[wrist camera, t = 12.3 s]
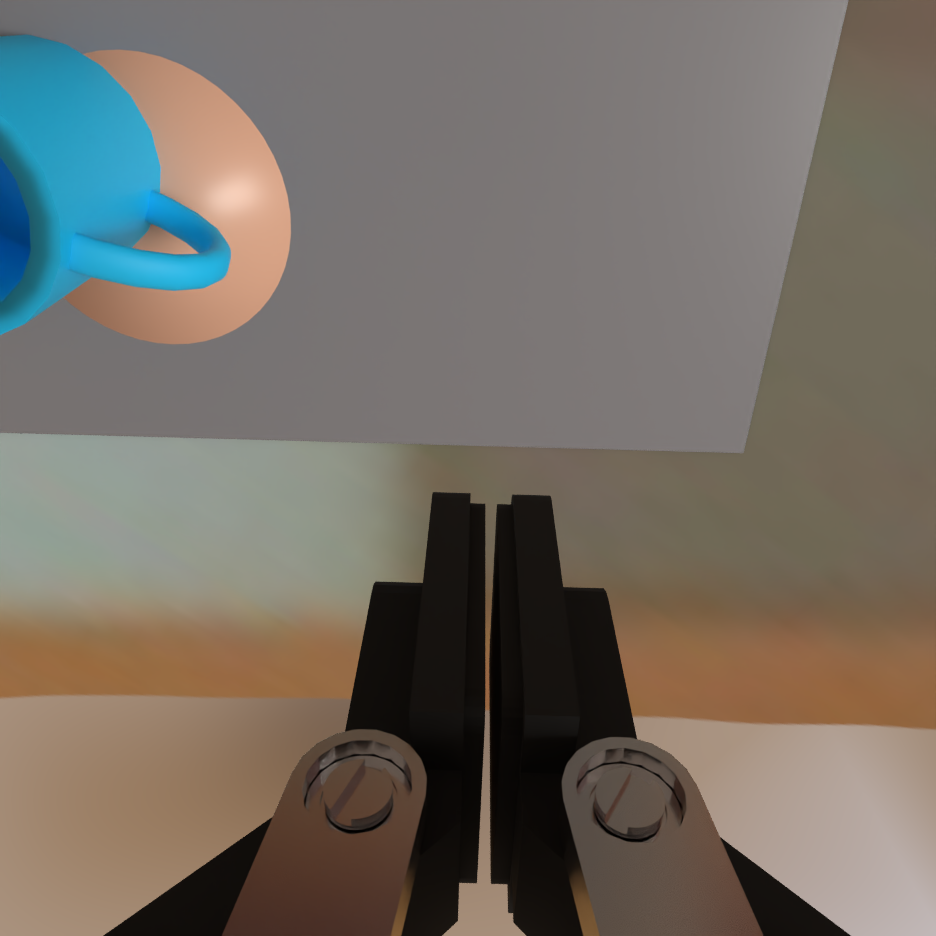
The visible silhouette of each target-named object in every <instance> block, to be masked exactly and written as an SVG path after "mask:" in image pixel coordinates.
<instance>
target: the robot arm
mask: <svg viewBox="0 0 936 936" xmlns="http://www.w3.org/2000/svg"><path fill="white" fill-rule="evenodd" d="M489 689H490V836H491V837H490V840H491V841H490V843H491V844H490V846H491V884H508V912H509V913H513V919H514V923H515V924H516V925H517V926H518V927H519V929H520V930H521V931H522V932H523V933H524V934H525V935H526V936H850V935H849V934H848V933H846V932H845V931H844V930H842V929H841V928H840V927H838V926H837V925H835V924H834V923H833V922H832V921H831V920H829V919H828V918H827V917H825V916H824V915H823V914H821V913H820V912H818V911H817V910H816V909H815V908H813V907H812V906H811V905H809V904H808V903H807V902H805V901H804V900H803V899H801V898H800V897H799V896H797V895H796V894H795V893H793V892H792V891H791V890H789V889H788V888H787V887H785V886H784V885H783V884H781V883H780V882H779V881H777V880H776V879H775V878H773V877H772V876H771V875H770V874H768V873H767V872H766V871H764V870H763V869H762V868H760V867H759V866H758V865H756V864H755V863H754V862H752V861H751V860H750V859H748V858H747V857H746V856H744V855H743V854H742V853H740V852H739V851H738V850H736V849H735V848H733V847H732V846H731V845H730V844H728V843H727V842H726V841H724V840H723V839H722V838H721V837H720V836H719V834H718V832H717V830H716V827H715V825H714V823H713V821H712V818H711V816H710V814H709V812H708V810H707V807H706V805H705V802H704V800H703V798H702V796H701V794H700V791H699V789H698V787H697V785H696V783H695V782H694V780H693V779H692V777H691V775H690V774H689V772H688V771H687V769H686V768H685V767H684V766H683V765H682V764H681V763H680V762H679V761H678V760H676V759H675V758H674V757H673V756H672V755H671V754H670V753H668V752H666V751H664V750H662V749H661V748H659V747H657V746H655V745H653V744H651V743H648V742H644V741H641V740H638V739H637V737H636V732H635V727H634V723H633V717H632V712H631V708H630V703H629V698H628V693H627V688H626V683H625V678H624V674H623V669H622V664H621V659H620V654H619V649H618V644H617V639H616V635H615V630H614V625H613V620H612V615H611V610H610V605H609V601H608V597H607V593H606V591H605V590H604V588H571V587H563V583H562V576H561V568H560V561H559V553H558V546H557V538H556V530H555V523H554V515H553V508H552V500H551V496H542V495H512V501H511V505H507V504H497V513H496V533H495V553H494V573H493V593H492V613H491V632H490V658H489ZM484 726H485V504H473V503H470V493H441V492H433V495H432V503H431V513H430V522H429V531H428V541H427V550H426V560H425V569H424V578H423V583H405V582H375V583H374V585H373V589H372V594H371V599H370V604H369V609H368V615H367V620H366V625H365V630H364V635H363V641H362V646H361V651H360V656H359V662H358V667H357V672H356V677H355V682H354V688H353V693H352V698H351V703H350V709H349V714H348V720H347V724H346V730H345V732H342V733H337V734H335V735H333V736H331V737H329V738H327V739H325V740H323V741H321V742H319V743H317V744H316V745H315V746H314V747H312V748H311V749H310V750H309V751H308V752H307V753H306V754H305V755H303V756H302V758H301V759H300V761H299V763H298V764H297V766H296V767H295V769H294V770H293V772H292V774H291V776H290V778H289V781H288V783H287V785H286V788H285V790H284V792H283V795H282V797H281V799H280V801H279V804H278V806H277V809H276V811H275V813H274V815H273V817H272V818H270V819H269V820H268V821H266V822H265V823H263V824H262V825H261V826H259V827H258V828H256V829H255V830H253V831H252V832H250V833H249V834H248V835H246V836H245V837H243V838H242V839H240V840H239V841H238V842H236V843H235V844H233V845H232V846H230V847H229V848H228V849H226V850H225V851H223V852H222V853H221V854H219V855H218V856H216V857H215V858H213V859H212V860H211V861H209V862H208V863H206V864H205V865H204V866H202V867H201V868H199V869H198V870H196V871H195V872H194V873H192V874H191V875H189V876H188V877H186V878H185V879H183V880H182V881H181V882H179V883H178V884H176V885H175V886H173V887H172V888H171V889H169V890H168V891H167V892H165V893H164V894H162V895H161V896H159V897H158V898H157V899H155V900H154V901H152V902H151V903H149V904H148V905H147V906H145V907H144V908H142V909H141V910H139V911H138V912H137V913H135V914H134V915H132V916H131V917H130V918H128V919H127V920H125V921H124V922H122V923H121V924H120V925H118V926H117V927H115V928H114V929H112V930H111V931H109V932H108V933H107V934H105V935H104V936H442V935H443V934H444V933H445V932H446V931H447V930H449V929H450V928H451V926H453V925H454V924H455V923H456V922H457V921H458V898H459V883H477V870H478V850H479V829H480V810H481V789H482V768H483V749H484V748H483V747H484V728H485V727H484Z"/></svg>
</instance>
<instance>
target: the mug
mask: <svg viewBox="0 0 936 936" xmlns="http://www.w3.org/2000/svg"><path fill="white" fill-rule="evenodd" d="M160 177H161V166H160V163H159V159H158V155H157V151H156V148H155V144H154V140H153V136H152V133H151V130H150V128H149V127H148V125H147V123H146V121H145V120H144V118H143V116H142V114H141V113H140V111H139V109H138V107H137V106H136V104H135V102H134V101H133V99H132V97H131V95H130V94H129V93H128V92H127V91H126V90H125V89H124V88H123V87H122V86H121V85H120V84H119V83H118V82H117V81H116V80H115V79H114V78H113V77H112V76H111V75H110V74H109V73H108V72H107V71H106V70H105V69H104V68H103V67H102V66H101V65H100V64H98V63H96V62H95V61H93V60H91V59H90V58H88V57H86V56H85V55H83V54H81V53H80V52H78V51H76V50H75V49H73V48H71V47H70V46H68V45H66V44H63V43H59V42H56V41H52V40H48V39H44V38H40V37H36V36H32V35H14V36H0V335H2V334H4V333H6V332H8V331H10V330H13V329H15V328H17V327H19V326H22V325H24V324H26V323H27V322H28V321H30V320H31V319H33V318H34V317H36V316H37V315H38V314H40V313H41V312H43V311H44V310H46V309H47V308H48V307H50V306H51V305H53V304H54V303H56V302H57V301H59V300H60V299H61V298H63V297H64V296H66V295H67V294H69V293H70V292H71V291H73V290H74V289H76V288H77V287H79V286H80V285H81V284H83V283H84V282H86V281H87V280H89V279H90V278H91V277H92V278H96V279H101V280H106V281H110V282H115V283H119V284H124V285H129V286H133V287H140V288H150V289H160V290H170V291H178V290H192V289H202V288H206V287H208V286H210V285H212V284H214V283H216V282H218V281H220V280H222V279H223V278H224V277H225V276H226V274H227V272H228V268H229V264H230V260H231V249H230V246H229V244H228V243H227V241H226V240H225V238H224V237H223V235H222V234H221V233H220V231H219V230H218V229H217V228H216V227H215V226H213V225H212V224H211V223H210V222H208V221H207V220H206V219H204V218H203V217H202V216H201V215H199V214H198V213H196V212H195V211H193V210H191V209H189V208H188V207H186V206H184V205H182V204H181V203H179V202H177V201H175V200H174V199H172V198H170V197H168V196H165V195H163V194H161V193H160ZM151 224H153V225H155V226H157V227H160V228H162V229H163V230H165V231H167V232H168V233H170V234H172V235H174V236H175V237H177V238H179V239H181V240H182V241H184V242H186V243H187V244H188V245H189V246H191V247H192V248H193V249H194V250H195V251H197V252H198V254H169V253H162V252H154V251H146V250H139V249H135V248H132V247H133V246H134V245H135V244H136V243H137V242H138V241H139V240H140V239H141V238H142V237H143V236H144V235H145V234H146V233H147V231H148V230H149V228H150V225H151Z"/></svg>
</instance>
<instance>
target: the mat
mask: <svg viewBox="0 0 936 936" xmlns="http://www.w3.org/2000/svg"><path fill="white" fill-rule="evenodd" d="M847 4H848V0H0V36H14V35H32V36H36V37H40V38H44V39H48V40H52V41H56V42H59V43H63V44H66V45H68V46H70V47H71V48H73V49H75V50H76V51H78V52H80V53H81V54H83V55H85V56H86V57H88V58H90V59H91V60H93V61H95V62H96V63H98V64H100V65H101V66H102V67H103V68H104V69H105V70H106V71H107V72H108V73H109V74H110V75H111V76H112V77H113V78H114V79H115V80H116V81H117V82H118V83H119V84H120V85H121V86H122V87H123V88H124V89H125V90H126V91H127V92H128V93H129V94H130V95H131V97H132V99H133V101H134V102H135V104H136V106H137V107H138V109H139V111H140V113H141V114H142V116H143V118H144V120H145V121H146V123H147V125H148V127H149V128H150V130H151V133H152V136H153V140H154V144H155V148H156V151H157V155H158V159H159V163H160V166H161V177H160V193H161V194H163V195H165V196H168V197H170V198H172V199H174V200H175V201H177V202H179V203H181V204H182V205H184V206H186V207H188V208H189V209H191V210H193V211H195V212H196V213H198V214H199V215H201V216H202V217H203V218H204V219H206V220H207V221H208V222H210V223H211V224H212V225H213V226H215V227H216V228H217V229H218V230H219V231H220V233H221V234H222V235H223V237H224V238H225V240H226V241H227V243H228V244H229V246H230V249H231V260H230V264H229V268H228V272H227V274H226V276H225V277H224V278H223V279H222V280H220V281H218V282H216V283H214V284H212V285H210V286H208V287H206V288H202V289H192V290H178V291H170V290H160V289H150V288H140V287H133V286H129V285H124V284H119V283H115V282H110V281H106V280H101V279H96V278H92V277H91V278H90V279H89V280H87V281H86V282H84V283H83V284H81V285H80V286H79V287H77V288H76V289H74V290H73V291H71V292H70V293H69V294H67V295H66V296H64V297H63V298H61V299H60V300H59V301H57V302H56V303H54V304H53V305H51V306H50V307H48V308H47V309H46V310H44V311H43V312H41V313H40V314H38V315H37V316H36V317H34V318H33V319H31V320H30V321H28V322H27V323H26V324H24V325H22V326H19V327H17V328H15V329H13V330H10V331H8V332H6V333H4V334H2V335H0V433H35V434H71V435H107V436H144V437H180V438H216V439H253V440H289V441H325V442H362V443H398V444H434V445H471V446H507V447H543V448H580V449H616V450H652V451H689V452H725V453H744V448H745V444H746V440H747V436H748V431H749V427H750V423H751V418H752V414H753V410H754V405H755V401H756V397H757V392H758V388H759V384H760V379H761V375H762V371H763V366H764V362H765V358H766V354H767V349H768V345H769V341H770V336H771V332H772V328H773V323H774V319H775V315H776V310H777V306H778V302H779V297H780V293H781V289H782V284H783V280H784V276H785V272H786V267H787V263H788V259H789V254H790V250H791V246H792V241H793V237H794V233H795V228H796V224H797V220H798V215H799V211H800V207H801V202H802V198H803V194H804V190H805V185H806V181H807V177H808V172H809V168H810V164H811V159H812V155H813V151H814V146H815V142H816V138H817V133H818V129H819V125H820V120H821V116H822V112H823V107H824V103H825V99H826V95H827V90H828V86H829V82H830V77H831V73H832V69H833V64H834V60H835V56H836V51H837V47H838V43H839V38H840V34H841V30H842V25H843V21H844V17H845V13H846V8H847ZM132 248H135V249H139V250H146V251H154V252H162V253H169V254H198V252H197V251H195V250H194V249H193V248H192V247H191V246H189V245H188V244H187V243H186V242H184V241H182V240H181V239H179V238H177V237H175V236H174V235H172V234H170V233H168V232H167V231H165V230H163V229H162V228H160V227H157V226H155V225H153V224H151V225H150V228H149V230H148V231H147V233H146V234H145V235H144V236H143V237H142V238H141V239H140V240H139V241H138V242H137V243H136V244H135V245H134V246H133V247H132Z"/></svg>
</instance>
